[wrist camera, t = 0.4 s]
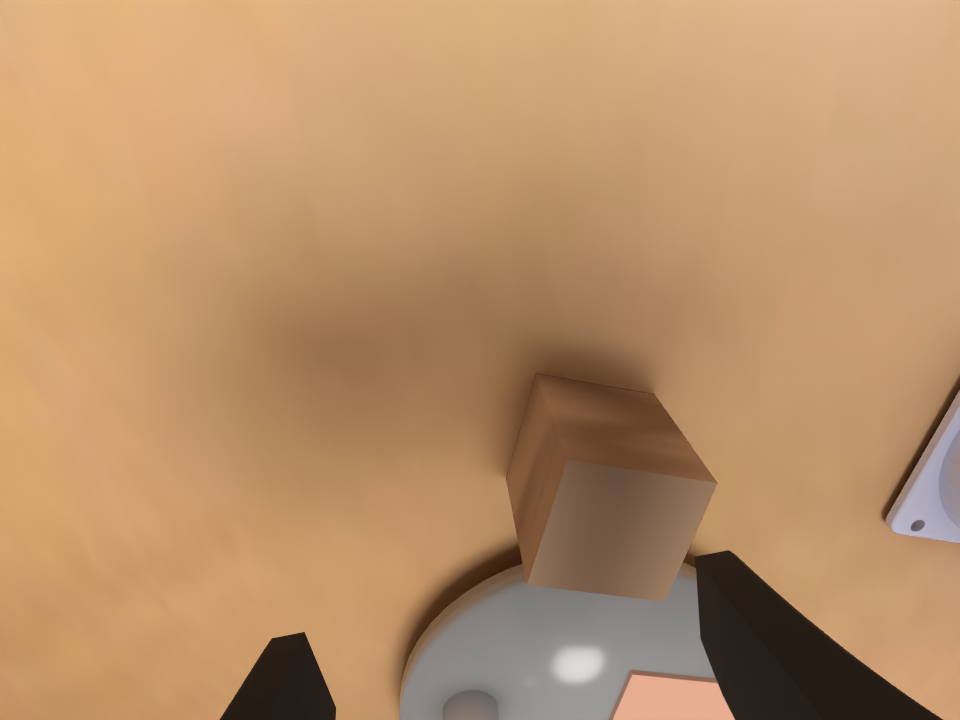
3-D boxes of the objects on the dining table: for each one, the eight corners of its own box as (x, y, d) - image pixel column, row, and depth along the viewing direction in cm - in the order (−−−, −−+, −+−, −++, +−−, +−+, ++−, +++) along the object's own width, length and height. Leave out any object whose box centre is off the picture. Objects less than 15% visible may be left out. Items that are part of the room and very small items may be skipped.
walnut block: (654, 393, 21) (717, 482, 16) (616, 494, 22) (665, 601, 18) (535, 372, 20) (567, 459, 16) (505, 477, 22) (526, 584, 17)
